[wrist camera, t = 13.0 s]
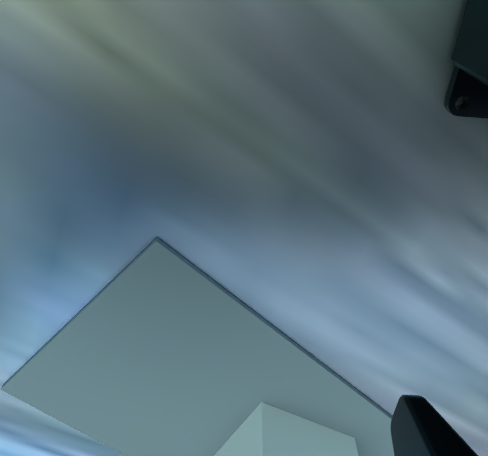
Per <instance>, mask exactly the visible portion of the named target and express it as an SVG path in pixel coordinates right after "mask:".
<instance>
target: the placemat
mask: <svg viewBox="0 0 488 456" xmlns="http://www.w3.org/2000/svg"><path fill="white" fill-rule="evenodd" d="M1 390H3V391H5V392H7V393H9V394H10V395H12V396H14V397H16V398H18V399H20V400H22V401H24V402H25V403H27V404H29V405H31V406H33V407H35V408H37V409H39V410H40V411H42V412H44V413H46V414H48V415H50V416H52V417H54V418H55V419H57V420H59V421H61V422H63V423H65V424H67V425H69V426H70V427H72V428H74V429H76V430H78V431H80V432H82V433H84V434H85V435H87V436H89V437H91V438H93V439H95V440H97V441H99V442H101V443H102V444H104V445H106V446H108V447H110V448H112V449H114V450H116V451H117V452H119V453H121V454H123V455H125V456H214V455H215V454H216V453H217V452H218V451H219V449H220V448H221V447H222V446H223V445H224V444H225V443H226V441H227V440H228V439H229V438H230V437H231V436H232V435H233V434H234V432H235V431H236V430H237V429H238V428H239V427H240V426H241V424H242V423H243V422H244V421H245V420H246V419H247V418H248V417H249V415H250V414H251V413H252V412H253V411H254V410H255V409H256V407H257V406H258V405H259V404H260V403H261V402H263V403H265V404H268V405H270V406H273V407H276V408H278V409H281V410H283V411H286V412H288V413H291V414H294V415H296V416H299V417H301V418H304V419H307V420H309V421H312V422H314V423H317V424H320V425H322V426H325V427H327V428H330V429H332V430H335V431H338V432H340V433H343V434H345V435H348V436H351V437H353V438H355V442H356V446H357V451H358V456H394V450H393V444H392V438H391V429H390V426H391V420H392V416H391V415H390V414H388V413H387V412H386V411H385V410H383V409H382V408H381V407H379V406H378V405H377V404H375V403H374V402H373V401H371V400H370V399H369V398H367V397H366V396H365V395H364V394H362V393H361V392H360V391H358V390H357V389H356V388H354V387H353V386H352V385H350V384H349V383H348V382H346V381H345V380H344V379H343V378H341V377H340V376H339V375H337V374H336V373H335V372H333V371H332V370H331V369H329V368H328V367H327V366H325V365H324V364H323V363H322V362H320V361H319V360H318V359H316V358H315V357H314V356H312V355H311V354H310V353H308V352H307V351H306V350H304V349H303V348H302V347H301V346H299V345H298V344H297V343H295V342H294V341H293V340H291V339H290V338H289V337H287V336H286V335H285V334H283V333H282V332H281V331H280V330H278V329H277V328H276V327H274V326H273V325H272V324H270V323H269V322H268V321H266V320H265V319H264V318H262V317H261V316H260V315H258V314H257V313H256V312H255V311H253V310H252V309H251V308H249V307H248V306H247V305H245V304H244V303H243V302H241V301H240V300H239V299H237V298H236V297H235V296H234V295H232V294H231V293H230V292H228V291H227V290H226V289H224V288H223V287H222V286H220V285H219V284H218V283H216V282H215V281H214V280H213V279H211V278H210V277H209V276H207V275H206V274H205V273H203V272H202V271H201V270H199V269H198V268H197V267H195V266H194V265H193V264H192V263H190V262H189V261H188V260H186V259H185V258H184V257H182V256H181V255H180V254H178V253H177V252H176V251H174V250H173V249H172V248H171V247H169V246H168V245H167V244H165V243H164V242H163V241H161V240H160V239H159V238H156V239H155V240H154V241H153V242H152V243H151V244H150V245H149V246H148V247H147V248H146V249H145V250H144V251H143V252H141V253H140V254H139V255H138V256H137V257H136V258H135V259H134V260H133V261H132V262H131V263H130V264H129V265H128V266H127V267H126V268H125V269H124V270H123V271H122V272H121V273H120V274H118V275H117V276H116V277H115V278H114V279H113V280H112V281H111V282H110V283H109V284H108V285H107V286H106V287H105V288H104V289H103V290H102V291H101V292H100V293H99V294H98V295H97V296H95V297H94V298H93V299H92V300H91V301H90V302H89V303H88V304H87V305H86V306H85V307H84V308H83V309H82V310H81V311H80V312H79V313H78V314H77V315H76V316H75V317H74V318H72V319H71V320H70V321H69V322H68V323H67V324H66V325H65V326H64V327H63V328H62V329H61V330H60V331H59V332H58V333H57V334H56V335H55V336H54V337H53V338H52V339H51V340H49V341H48V342H47V343H46V344H45V345H44V346H43V347H42V348H41V349H40V350H39V351H38V352H37V353H36V354H35V355H34V356H33V357H32V358H31V359H30V360H29V361H28V362H26V363H25V364H24V365H23V366H22V367H21V368H20V369H19V370H18V371H17V372H16V373H15V374H14V375H13V376H12V377H11V378H10V379H9V380H8V381H7V382H6V383H5V384H3V386H2V388H1Z"/></svg>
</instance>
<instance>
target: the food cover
mask: <svg viewBox="0 0 488 456" xmlns="http://www.w3.org/2000/svg"><path fill="white" fill-rule="evenodd" d="M214 456H358V451H357V446H356V442H355V438H353V437H351V436H348V435H345V434H343V433H340V432H338V431H335V430H332V429H330V428H327V427H325V426H322V425H320V424H317V423H314V422H312V421H309V420H307V419H304V418H301V417H299V416H296V415H294V414H291V413H288V412H286V411H283V410H281V409H278V408H276V407H273V406H270V405H268V404H265V403H263V402H261V403H260V404H259V405H258V406H257V407H256V409H255V410H254V411H253V412H252V413H251V414H250V415H249V417H248V418H247V419H246V420H245V421H244V422H243V423H242V424H241V426H240V427H239V428H238V429H237V430H236V431H235V432H234V434H233V435H232V436H231V437H230V438H229V439H228V440H227V441H226V443H225V444H224V445H223V446H222V447H221V448H220V449H219V451H218V452H217V453H216V454H215V455H214Z"/></svg>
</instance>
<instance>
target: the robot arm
mask: <svg viewBox="0 0 488 456" xmlns="http://www.w3.org/2000/svg"><path fill="white" fill-rule="evenodd" d="M452 61H453V62H454V64H455V67H454V71H453V74H452V78H451V81H450V84H449V88H448V91H447V94H446V98H445V107H446V109H447V110H448V111H449V112H451V113H452V114H453V115H456V116H463V117H476V118H488V0H468V3H467V6H466V10H465V13H464V17H463V20H462V24H461V27H460V30H459V34H458V37H457V41H456V44H455V47H454V51H453V54H452ZM462 96H464V97H465V101H464V102H463V104H462V105H460V106H457V107H455V102H456V100H457V99H458V98H460V97H462ZM390 429H391V438H392V444H393V450H394V456H478V455H477V454H476V453H475V452H474V451H473V450H472V449H471V447H470V446H469V445H468V444H467V443H466V442H465V441H464V440H463V439H462V438H461V437H460V436H459V434H458V433H457V432H456V431H455V430H454V429H453V428H452V427H451V426H450V425H449V424H448V423H447V422H446V420H445V419H444V418H443V417H442V416H441V415H440V414H439V413H438V412H437V411H436V410H435V409H434V407H433V406H432V405H431V404H430V403H429V402H428V401H427V400H426V399H425V398H424V397H422V396H419V395H402V396H401V397H400V398H399V401H398V403H397V406H396V409H395V411H394V414H393V417H392V420H391V426H390Z"/></svg>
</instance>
